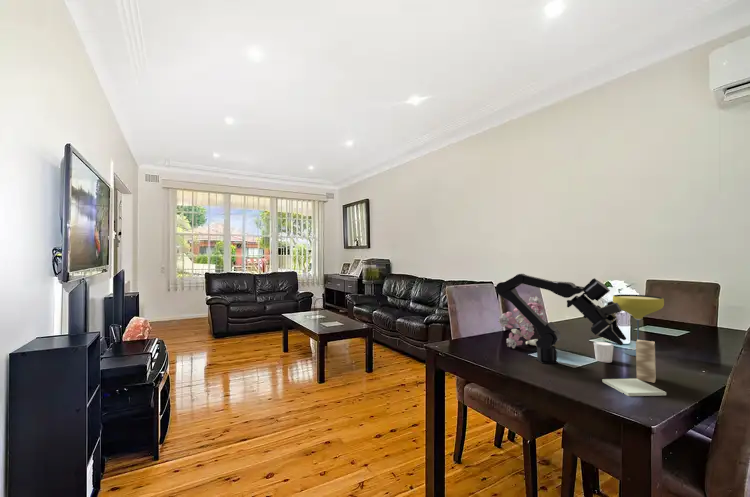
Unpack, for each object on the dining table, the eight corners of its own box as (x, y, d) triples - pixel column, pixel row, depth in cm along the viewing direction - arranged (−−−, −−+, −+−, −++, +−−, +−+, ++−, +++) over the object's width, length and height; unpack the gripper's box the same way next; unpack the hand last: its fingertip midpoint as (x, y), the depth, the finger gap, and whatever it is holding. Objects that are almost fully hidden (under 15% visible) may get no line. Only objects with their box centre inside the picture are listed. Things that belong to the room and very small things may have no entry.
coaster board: (628, 396, 109) (628, 392, 109) (602, 382, 121) (602, 379, 121) (666, 395, 109) (666, 392, 109) (636, 381, 121) (636, 378, 121)
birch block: (636, 379, 123) (635, 342, 123) (637, 375, 127) (637, 339, 127) (654, 382, 120) (654, 344, 120) (655, 378, 124) (654, 341, 124)
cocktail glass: (649, 362, 142) (647, 300, 143) (604, 351, 159) (603, 295, 159) (674, 356, 149) (673, 297, 150) (629, 346, 166) (628, 293, 166)
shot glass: (617, 363, 141) (616, 345, 142) (598, 362, 143) (597, 345, 143) (609, 358, 148) (609, 341, 148) (591, 357, 150) (591, 341, 150)
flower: (493, 335, 185) (492, 294, 175) (538, 331, 182) (539, 290, 172) (503, 362, 167) (502, 319, 157) (553, 358, 164) (555, 314, 154)
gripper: (600, 297, 125) (640, 332, 117) (609, 292, 139) (645, 324, 131) (576, 317, 130) (613, 352, 122) (586, 310, 144) (620, 342, 136)
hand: (623, 341), depth 128 cm, fingers open, 9 cm apart
